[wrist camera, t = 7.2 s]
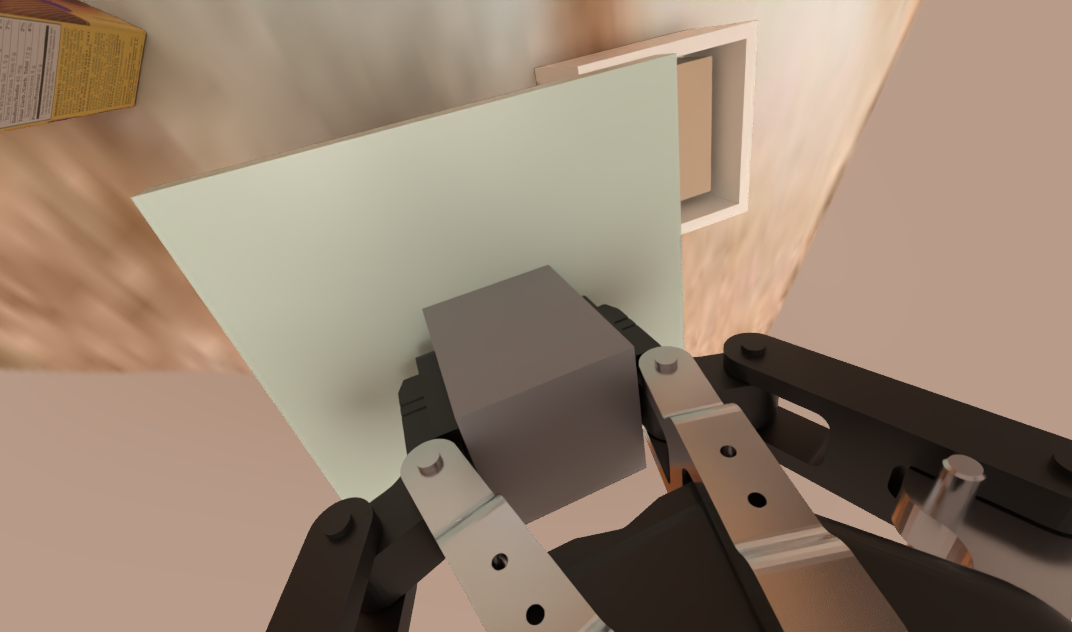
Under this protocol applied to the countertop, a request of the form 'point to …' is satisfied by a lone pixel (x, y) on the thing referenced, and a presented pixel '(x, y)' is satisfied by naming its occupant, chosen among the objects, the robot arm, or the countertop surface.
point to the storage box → (699, 111)
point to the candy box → (64, 62)
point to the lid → (455, 278)
